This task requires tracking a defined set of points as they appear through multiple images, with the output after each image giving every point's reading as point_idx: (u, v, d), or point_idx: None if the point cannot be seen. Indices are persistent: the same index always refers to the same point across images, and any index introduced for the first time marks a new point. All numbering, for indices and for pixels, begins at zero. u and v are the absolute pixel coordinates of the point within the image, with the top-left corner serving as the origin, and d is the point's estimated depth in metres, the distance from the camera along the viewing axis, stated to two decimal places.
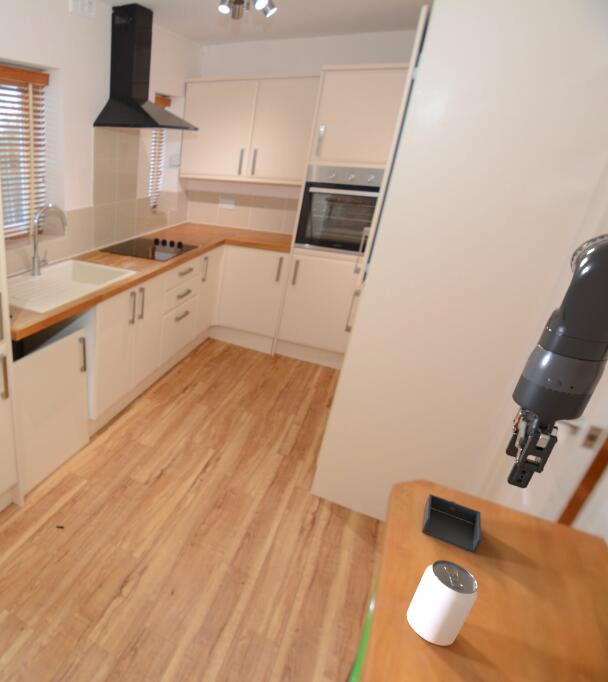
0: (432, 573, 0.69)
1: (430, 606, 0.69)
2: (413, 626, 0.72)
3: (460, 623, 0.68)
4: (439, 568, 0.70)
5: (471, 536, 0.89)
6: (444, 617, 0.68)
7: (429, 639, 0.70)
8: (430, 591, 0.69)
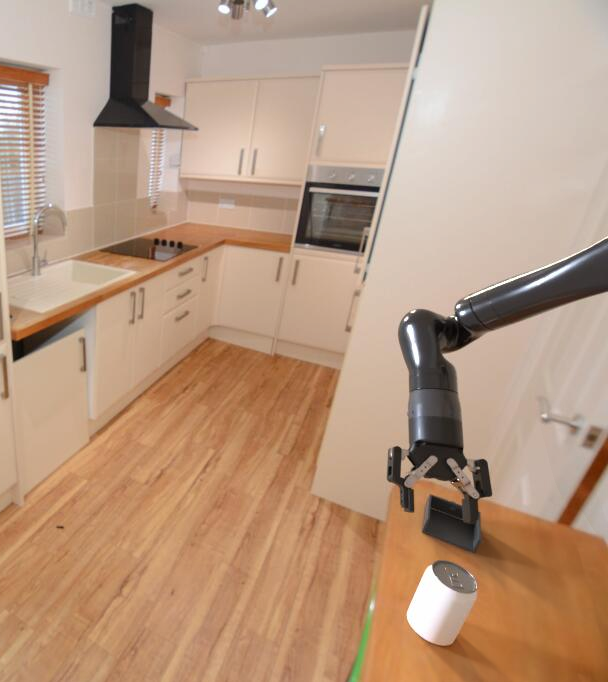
0: (432, 573, 0.69)
1: (430, 606, 0.69)
2: (413, 626, 0.72)
3: (460, 623, 0.68)
4: (439, 568, 0.70)
5: (471, 536, 0.89)
6: (444, 617, 0.68)
7: (429, 639, 0.70)
8: (430, 591, 0.69)
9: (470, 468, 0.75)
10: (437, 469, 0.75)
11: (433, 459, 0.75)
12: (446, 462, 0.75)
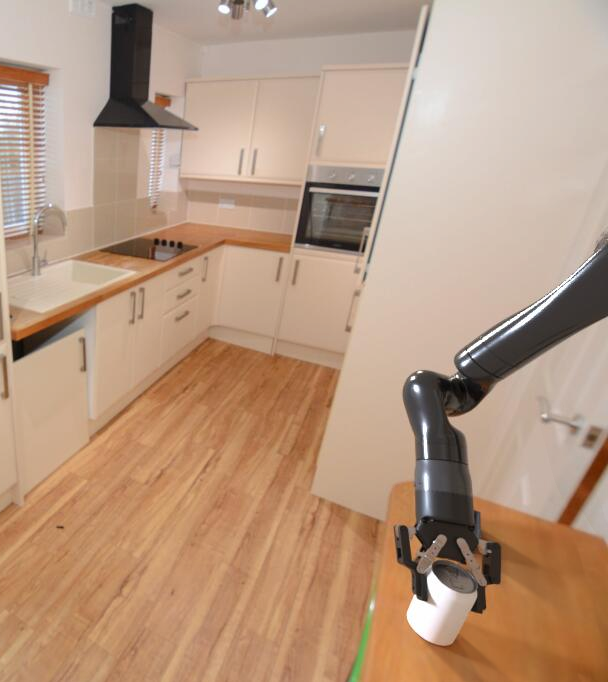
0: (432, 573, 0.69)
1: (430, 606, 0.69)
2: (413, 626, 0.72)
3: (460, 623, 0.68)
4: (439, 568, 0.70)
5: None
6: (444, 617, 0.68)
7: (429, 639, 0.70)
8: (430, 591, 0.69)
9: (481, 549, 0.70)
10: (446, 549, 0.70)
11: (442, 538, 0.70)
12: (456, 541, 0.70)
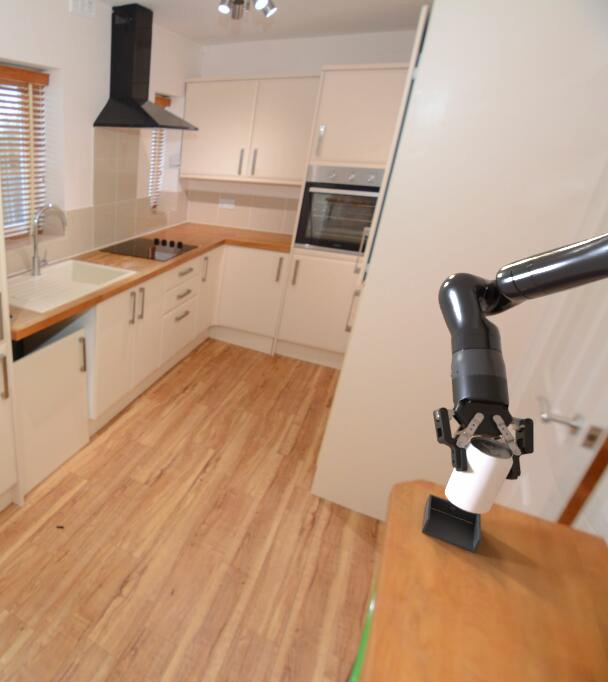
0: (471, 445, 0.76)
1: (469, 475, 0.76)
2: (452, 499, 0.79)
3: (497, 489, 0.75)
4: (477, 442, 0.77)
5: (471, 536, 0.89)
6: (482, 484, 0.75)
7: (467, 508, 0.78)
8: (470, 461, 0.75)
9: (514, 426, 0.77)
10: (483, 426, 0.77)
11: (479, 416, 0.77)
12: (492, 418, 0.77)
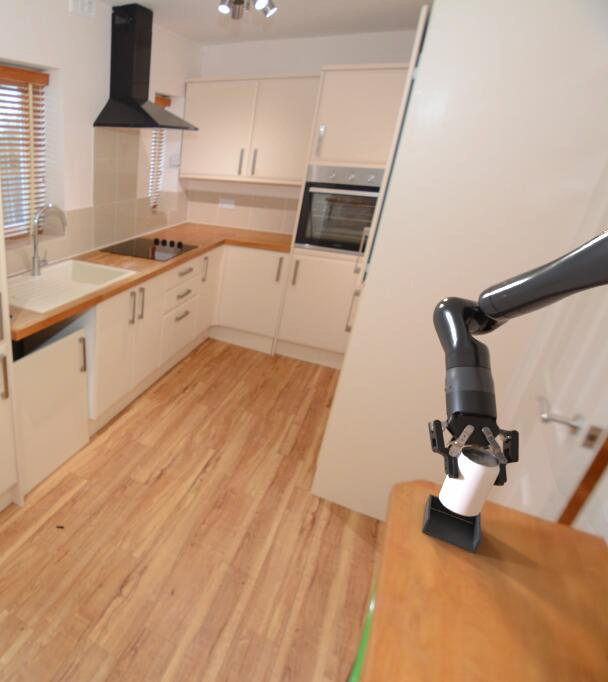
0: (462, 454, 0.84)
1: (460, 482, 0.84)
2: (445, 503, 0.87)
3: (485, 494, 0.83)
4: (468, 451, 0.85)
5: (471, 536, 0.89)
6: (472, 489, 0.83)
7: (459, 511, 0.85)
8: (461, 469, 0.83)
9: (502, 437, 0.85)
10: (473, 437, 0.85)
11: (470, 428, 0.85)
12: (481, 430, 0.85)
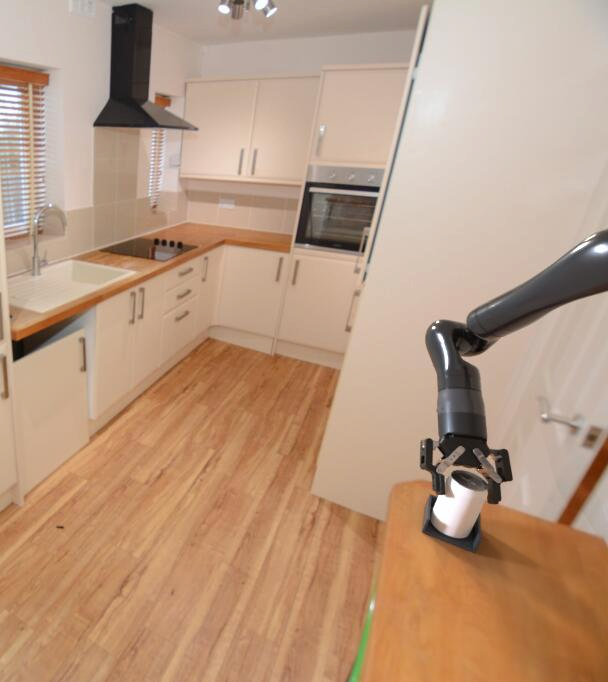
0: (452, 478, 0.86)
1: (450, 505, 0.86)
2: (435, 525, 0.90)
3: (474, 517, 0.85)
4: (457, 475, 0.87)
5: (471, 536, 0.89)
6: (461, 513, 0.85)
7: (449, 533, 0.88)
8: (450, 492, 0.86)
9: (493, 457, 0.87)
10: (464, 458, 0.87)
11: (461, 449, 0.87)
12: (472, 452, 0.87)
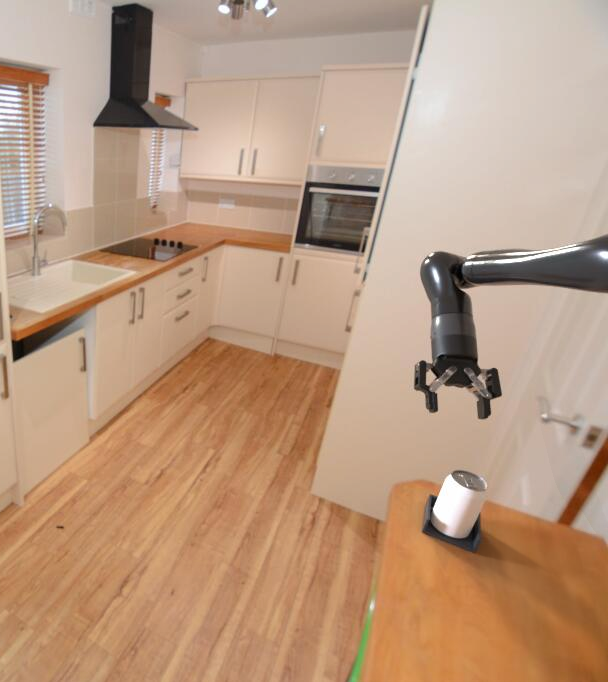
0: (452, 478, 0.86)
1: (450, 505, 0.86)
2: (435, 525, 0.90)
3: (474, 517, 0.85)
4: (457, 475, 0.87)
5: (471, 536, 0.89)
6: (461, 513, 0.85)
7: (449, 533, 0.88)
8: (450, 492, 0.86)
9: (483, 376, 0.92)
10: (456, 377, 0.92)
11: (453, 369, 0.92)
12: (464, 371, 0.91)
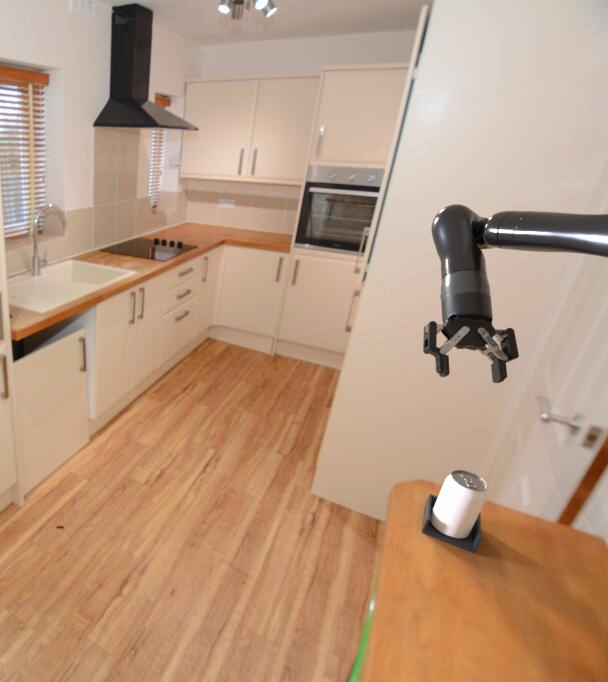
0: (452, 478, 0.86)
1: (450, 505, 0.86)
2: (435, 525, 0.90)
3: (474, 517, 0.85)
4: (457, 475, 0.87)
5: (471, 536, 0.89)
6: (461, 513, 0.85)
7: (449, 533, 0.88)
8: (450, 492, 0.86)
9: (498, 337, 0.85)
10: (469, 338, 0.85)
11: (465, 329, 0.85)
12: (477, 331, 0.85)
